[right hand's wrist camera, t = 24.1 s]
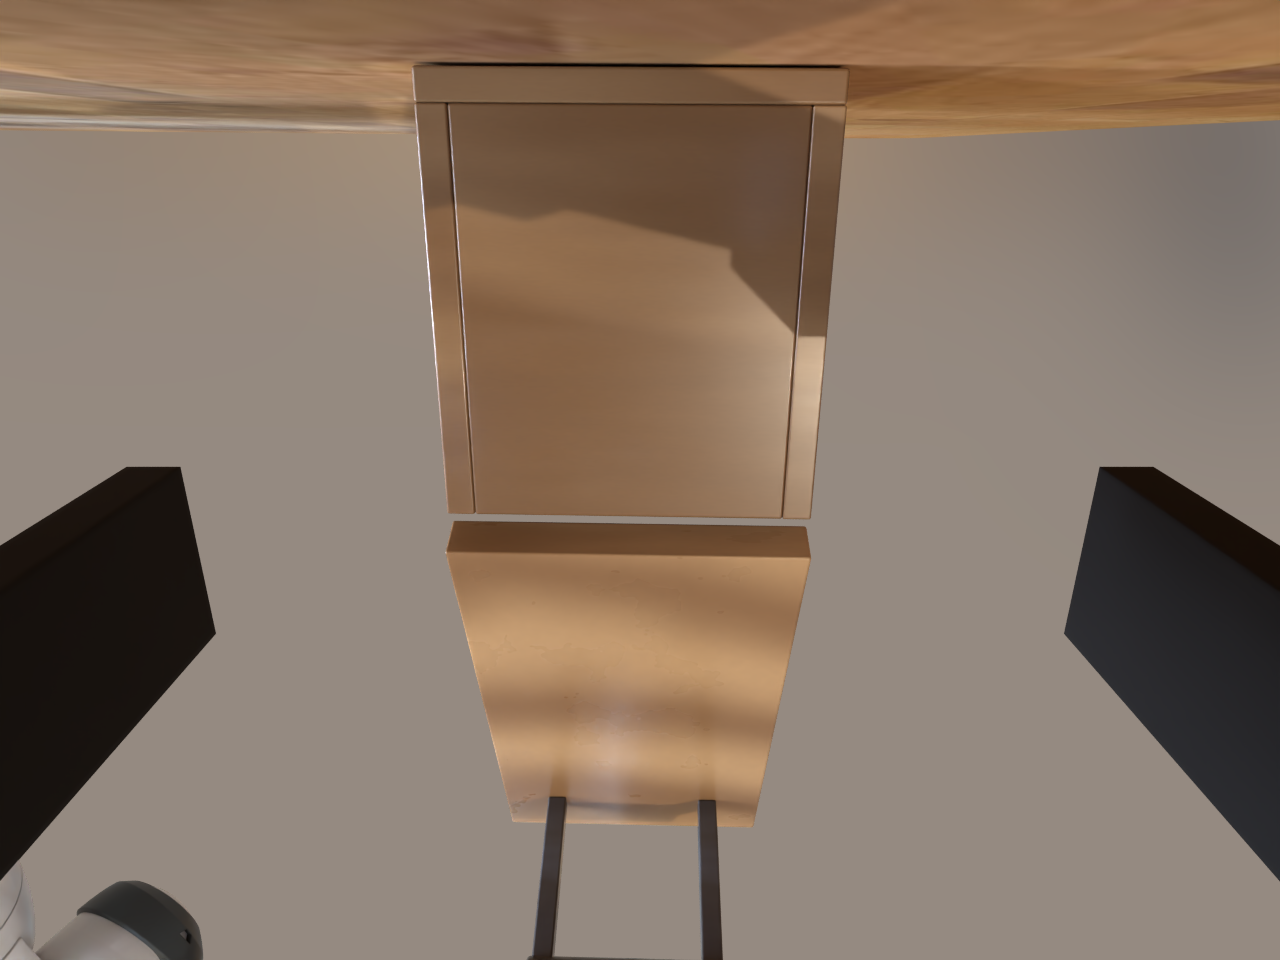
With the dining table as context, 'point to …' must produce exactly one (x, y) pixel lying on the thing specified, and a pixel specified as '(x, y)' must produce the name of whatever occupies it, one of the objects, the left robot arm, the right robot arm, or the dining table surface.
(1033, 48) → the dining table surface
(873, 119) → the dining table surface
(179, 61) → the dining table surface
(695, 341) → the chest
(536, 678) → the lid
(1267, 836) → the right robot arm
